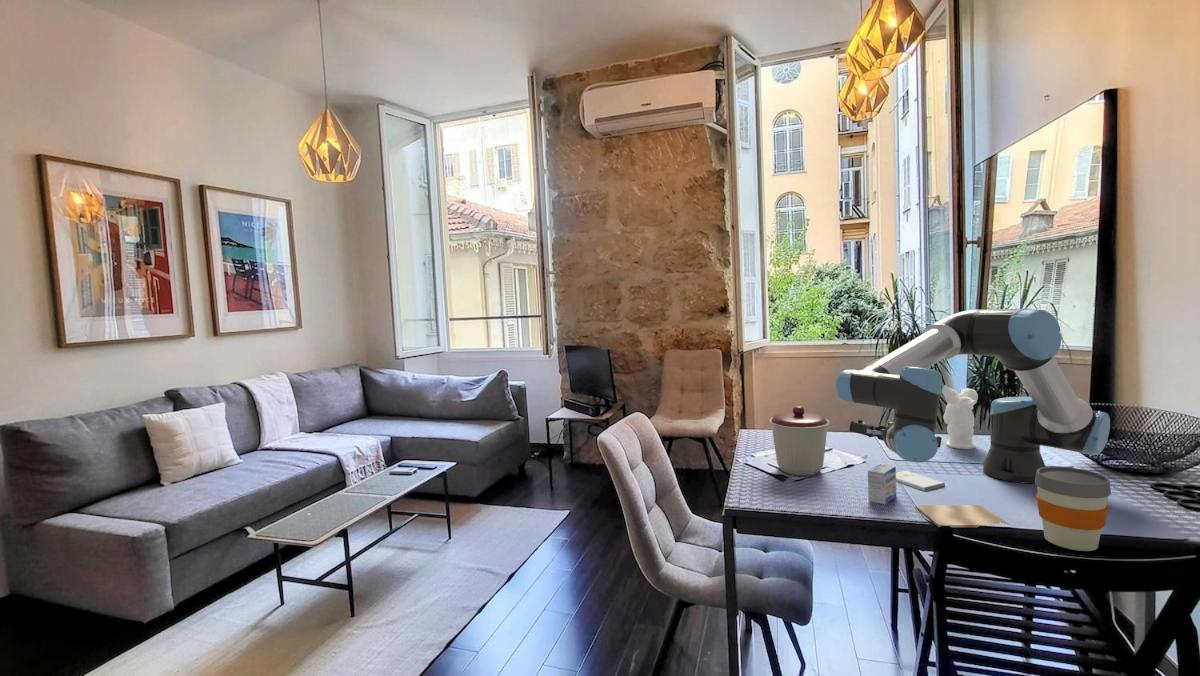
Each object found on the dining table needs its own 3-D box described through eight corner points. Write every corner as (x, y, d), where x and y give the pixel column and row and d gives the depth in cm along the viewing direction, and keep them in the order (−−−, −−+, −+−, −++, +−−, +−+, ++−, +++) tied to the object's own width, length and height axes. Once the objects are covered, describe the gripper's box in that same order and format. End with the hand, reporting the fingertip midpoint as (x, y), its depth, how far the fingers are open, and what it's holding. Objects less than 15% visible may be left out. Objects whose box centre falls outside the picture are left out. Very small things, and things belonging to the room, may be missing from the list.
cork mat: (981, 507, 139) (981, 505, 139) (1011, 527, 127) (1011, 525, 127) (915, 507, 141) (915, 505, 141) (938, 527, 129) (938, 525, 129)
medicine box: (885, 505, 143) (884, 473, 143) (867, 501, 147) (867, 470, 146) (896, 497, 149) (896, 466, 148) (879, 493, 152) (879, 463, 151)
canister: (794, 458, 186) (792, 398, 184) (842, 471, 171) (841, 405, 169) (758, 470, 176) (756, 406, 174) (806, 485, 161) (805, 415, 159)
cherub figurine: (970, 442, 193) (971, 382, 191) (991, 453, 181) (992, 388, 179) (934, 442, 195) (935, 382, 193) (952, 453, 182) (953, 388, 181)
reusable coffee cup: (1126, 552, 114) (1128, 482, 112) (1071, 557, 113) (1072, 487, 111) (1070, 526, 126) (1071, 464, 125) (1019, 531, 125) (1020, 468, 124)
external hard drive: (924, 493, 152) (886, 479, 163) (945, 487, 154) (906, 474, 166) (924, 487, 152) (886, 474, 163) (945, 482, 154) (906, 469, 166)
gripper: (841, 443, 126) (835, 436, 146) (966, 467, 117) (941, 456, 137) (846, 411, 126) (840, 408, 146) (970, 433, 117) (946, 427, 137)
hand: (889, 431), depth 142 cm, fingers open, 13 cm apart
